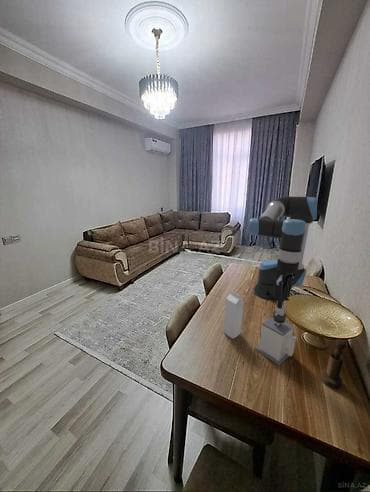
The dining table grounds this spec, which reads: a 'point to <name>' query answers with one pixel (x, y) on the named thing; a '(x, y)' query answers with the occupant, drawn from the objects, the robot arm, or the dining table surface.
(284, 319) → the dark gray domed cylinder
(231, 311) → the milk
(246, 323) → the dining table surface
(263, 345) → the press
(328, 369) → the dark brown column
